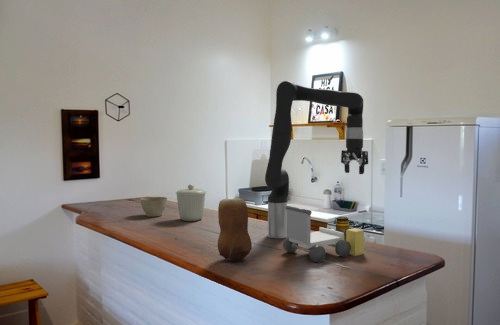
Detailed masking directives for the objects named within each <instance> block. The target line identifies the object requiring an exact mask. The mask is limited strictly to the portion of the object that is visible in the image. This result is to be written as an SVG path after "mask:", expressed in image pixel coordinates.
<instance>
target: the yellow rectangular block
mask: <svg viewBox="0 0 500 325" xmlns="http://www.w3.org/2000/svg"><path fill="white" fill-rule="evenodd" d="M364 236H365V229H359V228H356V227H354V228H349V229H347V230H346V241H347V242H349V243H350V245H351V250H350V253H349V255H351V256H354V257H356V256H361V255H364V252H365V250H364V249H365V247H364V242H365V238H364Z"/></svg>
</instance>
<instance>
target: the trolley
mask: <svg viewBox="0 0 500 325" xmlns="http://www.w3.org/2000/svg"><path fill="white" fill-rule="evenodd" d="M286 210H287V237H285V238H284V240H283V242H282V248H283V250H284V251H285V252H286V253H289V254H293V253H295V252H296V251H297V250H300V251H302V252H303V251H304V252H306V253H309V254H308V255H309V258H310V260H311V261H312V262H315V263H318V264H319V263H321V262H324V260H325V258H326V255H327V252H326V248H325V247H324V246H328V247H331V248H334V249H335V250H334V251H335V253H336V255H337V256H340V257H343V258H346V257H347V256H349V255H350V254H349V253H350V250H351V245H350V243H349V242H347V241H344V233H342V232H338V231H336V230H334V229H330V228H326V227H321V226H319V230H318V231H317V230H316V231H311V215H312V210H309V209H305V208H300V207H296V206H295V207H294V206H291V205H287V206H286ZM334 243H337V244H334ZM300 245H301V246H300ZM303 246H304V247H303ZM305 247H307V248H305ZM309 248H310V249H309Z"/></svg>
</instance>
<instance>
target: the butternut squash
mask: <svg viewBox="0 0 500 325" xmlns="http://www.w3.org/2000/svg"><path fill="white" fill-rule="evenodd" d="M217 209H218V211H217V212H218V216H217V217H218V225H219V228H220V230H219V231H220V232H219V236H218V239H217V246H216V247H217V250H218V253H219V256H221V257H223V258H224V259H225V260H227V261H231V262H237V263H238V262H241V261H242V260H245V258H246V257H247V256H248V255H249V254H250V252H251V251H252V245H253V244H252V239H251V236H250V234H249V228H248V227H249V211H248V206H247V203H246V201H245V199H243V198H224V199H221V200H219V203H218V208H217Z"/></svg>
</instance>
